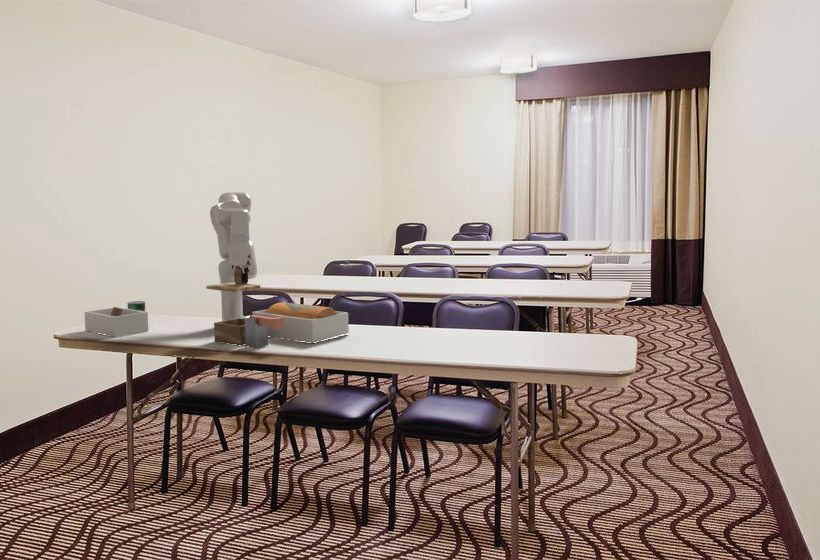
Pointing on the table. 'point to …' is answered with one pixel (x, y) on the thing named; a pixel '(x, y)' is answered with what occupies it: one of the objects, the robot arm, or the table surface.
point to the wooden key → (270, 321)
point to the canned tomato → (137, 305)
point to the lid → (234, 284)
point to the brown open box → (230, 331)
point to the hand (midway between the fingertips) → (241, 281)
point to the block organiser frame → (116, 322)
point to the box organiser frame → (308, 327)
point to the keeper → (255, 333)
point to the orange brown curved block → (301, 311)
